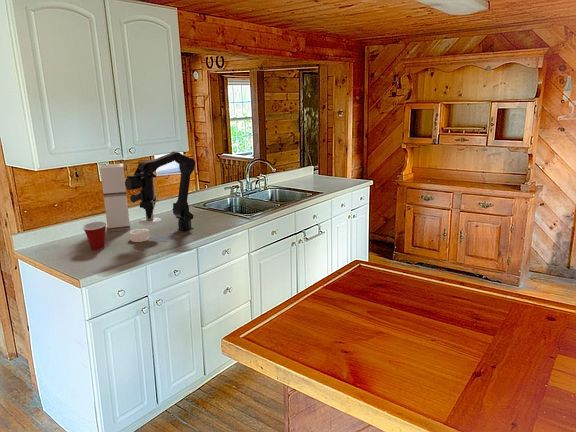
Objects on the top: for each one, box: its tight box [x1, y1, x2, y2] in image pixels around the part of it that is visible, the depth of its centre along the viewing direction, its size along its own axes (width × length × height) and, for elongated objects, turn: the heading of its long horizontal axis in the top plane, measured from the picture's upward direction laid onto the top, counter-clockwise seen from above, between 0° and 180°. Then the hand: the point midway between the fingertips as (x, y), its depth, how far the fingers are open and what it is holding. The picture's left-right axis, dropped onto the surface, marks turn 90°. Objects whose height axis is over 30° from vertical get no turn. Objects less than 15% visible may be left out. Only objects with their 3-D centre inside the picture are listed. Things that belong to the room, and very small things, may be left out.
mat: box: [149, 232, 182, 243], centre depth 227 cm, size 11×11×1 cm
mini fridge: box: [99, 163, 131, 233], centre depth 242 cm, size 11×11×35 cm
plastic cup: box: [81, 221, 107, 251], centre depth 212 cm, size 11×11×12 cm
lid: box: [138, 211, 162, 226], centre depth 223 cm, size 11×11×5 cm
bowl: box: [129, 228, 150, 243], centre depth 225 cm, size 9×9×4 cm
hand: (149, 217), depth 223 cm, fingers closed on lid, 4 cm apart
